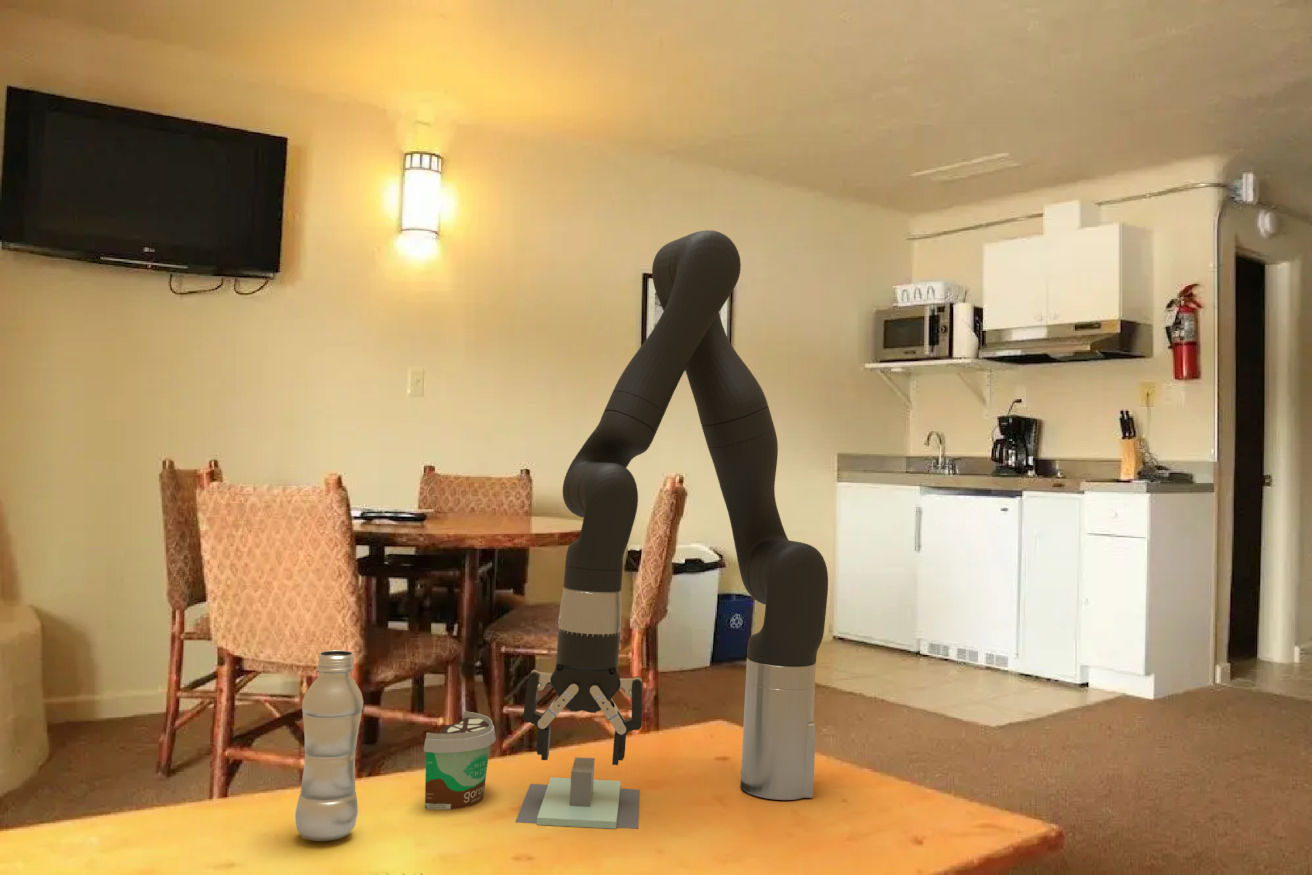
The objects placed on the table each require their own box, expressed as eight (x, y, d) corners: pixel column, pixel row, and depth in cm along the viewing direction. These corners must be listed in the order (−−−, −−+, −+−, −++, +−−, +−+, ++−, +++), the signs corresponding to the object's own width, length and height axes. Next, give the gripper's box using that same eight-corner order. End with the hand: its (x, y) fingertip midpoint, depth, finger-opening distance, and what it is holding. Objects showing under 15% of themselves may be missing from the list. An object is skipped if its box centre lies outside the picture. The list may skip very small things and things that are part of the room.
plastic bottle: (368, 832, 114) (379, 651, 114) (330, 853, 107) (342, 661, 108) (320, 822, 116) (331, 645, 116) (280, 842, 109) (291, 654, 110)
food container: (469, 827, 117) (474, 739, 117) (419, 821, 118) (424, 733, 118) (506, 794, 129) (511, 714, 129) (460, 789, 130) (465, 710, 130)
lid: (620, 787, 131) (622, 749, 131) (616, 828, 116) (618, 786, 116) (550, 783, 131) (552, 745, 131) (536, 824, 116) (539, 781, 116)
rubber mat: (639, 797, 130) (639, 789, 130) (637, 837, 116) (638, 828, 116) (529, 791, 130) (530, 783, 130) (514, 830, 116) (515, 821, 116)
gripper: (648, 625, 128) (639, 756, 127) (534, 617, 128) (525, 748, 127) (647, 635, 120) (638, 774, 120) (527, 626, 120) (516, 765, 120)
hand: (579, 760), depth 124 cm, fingers open, 8 cm apart
